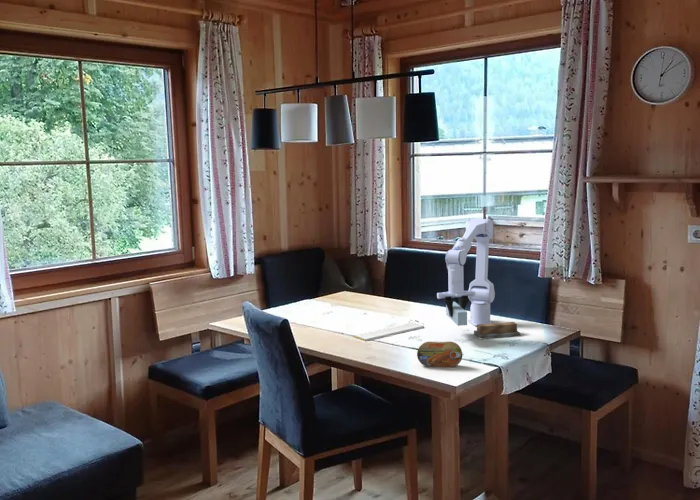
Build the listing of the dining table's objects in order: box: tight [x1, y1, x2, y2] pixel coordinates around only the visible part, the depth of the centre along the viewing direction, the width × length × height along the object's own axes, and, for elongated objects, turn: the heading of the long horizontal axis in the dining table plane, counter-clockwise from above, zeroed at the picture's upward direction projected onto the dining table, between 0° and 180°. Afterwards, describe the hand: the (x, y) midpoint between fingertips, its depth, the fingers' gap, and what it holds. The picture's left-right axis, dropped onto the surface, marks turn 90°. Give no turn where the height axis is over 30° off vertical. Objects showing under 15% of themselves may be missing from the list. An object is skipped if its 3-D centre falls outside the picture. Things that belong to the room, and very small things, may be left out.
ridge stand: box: [473, 321, 522, 339], centre depth 263 cm, size 16×8×4 cm, turn 98°
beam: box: [445, 301, 468, 326], centre depth 259 cm, size 18×4×5 cm, turn 6°
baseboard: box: [352, 319, 425, 342], centre depth 273 cm, size 30×3×10 cm
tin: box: [416, 341, 463, 368], centre depth 227 cm, size 15×3×8 cm, turn 80°
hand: (456, 315), depth 259 cm, fingers closed on beam, 4 cm apart
